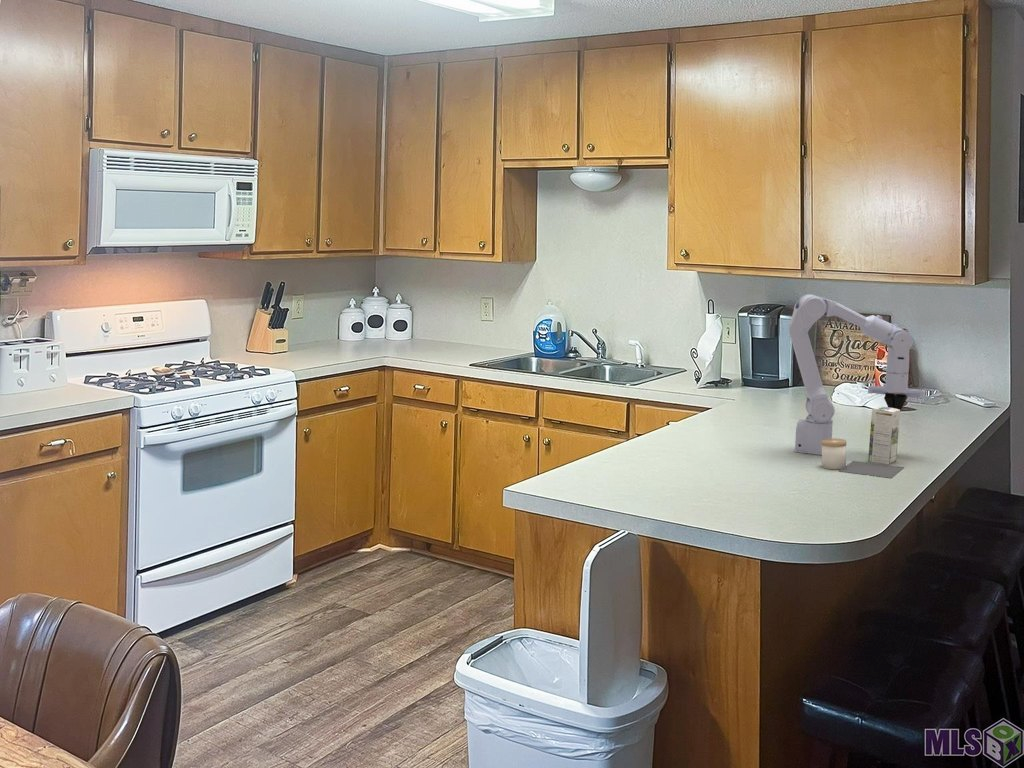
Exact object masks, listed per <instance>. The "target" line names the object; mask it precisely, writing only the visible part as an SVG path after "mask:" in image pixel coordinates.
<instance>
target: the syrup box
mask: <svg viewBox="0 0 1024 768" xmlns="http://www.w3.org/2000/svg"><path fill="white" fill-rule="evenodd" d="M900 417H901V411H900V410H899V409H895V408H890V407H888V406H879V407H876V408H874V409H872V410H871V420H870V433H869V446H868V447H869V448H868V457H867V458H868V459H867V460H868V463H875V464H883V465H891V464H893V463H895V462H896V461H897V455H898V445H899V444H898V440H899V433H900V430H899V429H900V428H899V427H900Z"/></svg>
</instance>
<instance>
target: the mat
mask: <svg viewBox="0 0 1024 768" xmlns="http://www.w3.org/2000/svg"><path fill="white" fill-rule="evenodd" d="M904 469H905V466H898V465H891V464H889V465H888V464H881V463H875V462H867V461H859V460H858V461H857V460H852V461H851V462H850V463H848V464H846V468H844V469H838V472H839V473H847V474H854V475H860V476H861V475H862V476H867V475H869V476H870V477H875V476H876V477H877V478H884V479H893V478H894V477H895V476H896V475H898V474H899V472H901V471H902V470H904Z"/></svg>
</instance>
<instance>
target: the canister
mask: <svg viewBox="0 0 1024 768" xmlns="http://www.w3.org/2000/svg"><path fill="white" fill-rule="evenodd" d="M821 444H822V455H821V468H824V469H827V470H841V469H844V468H846V466H847V439H844V438H835V437H834V438H833V437H832V438H830V439H823V440H821Z"/></svg>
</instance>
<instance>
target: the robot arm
mask: <svg viewBox="0 0 1024 768" xmlns="http://www.w3.org/2000/svg"><path fill="white" fill-rule="evenodd" d="M823 316H824V317H834V316H835V317H837V318H840V319H842V320H844V321H846V322H848V323H851V324H853V325H855V326H857V327H860V329H861V333H862V334H863V335H865V336H867V337H869V338H871V339H873V340H874V341H876V342H878V343H880V344H881V343H882V344H885V345H886V346H887V355H886V369H885V372H886V373H885V385H868V388H867V394H870V395H871V394H878V395H884V396H883V398H884V399H883V400H884V401H885V403H886V407H890V408H895V409H899V410H900V412H901V411H902V408H903V407H904V404H905V403H906V401H907V399H908V397H912V398H921V399H923V398H925V395H926V389H918V388H910V387H909V386H908V385H909V372H910V371H909V369H910V350H911V348H912V347H913V344H914V340H913V336H912V334H911V333H910V332H909V330H906V329H903V328H901V327H899V325H898V324H897V323H890V322H888V321H886V320H885V319H883V316H882V315H879V314H876V315H874V314H872V315H869V316H864V315H862V314H861V313H860V312H859V313H858V312H857V311H854V310H853V309H851V308H849V307H847V306H845V305H843V304H842V303H839V302H837V301H834V300H831V299H828V298H824V297H821V296H818V295H815V294H812V293H806V294H804V295H802V296H801V297H800V298H799V299H798V300H797V302H796V303H795V304H794V306H793V312H792V315H791V318H790V322H789V323H788V324H789V325H788V333H789V337H790V340H791V343H792V347H793V350H794V354H795V358H796V362H797V365H798V368H799V371H800V372H799V373H800V374H801V375H800V376H801V379H802V382H803V386H804V389H805V390H804V391H805V397H806V402H805V409H806V412H807V413H808V414H807V416H806V417H805V419H802V418H801V419H799V420H798V421H797V423H796V428H795V444H794V445H795V446H794V451H793V452H794V453H801V454H802V453H803V454H809V455H810V454H811V455H816V456H822V444H821V440H823V439H830V438H833V424H834V422H833V421H834V419H833V417H834V415H835V407H834V404H833V403H832V402H831V401H830V400H829V398H828V395H827V393H826V391H825V388H824V385H823V381H822V378H821V375H820V372H819V366H818V364H817V361H816V357H815V354H814V350H813V347H812V346H813V345H812V343H811V342H812V341H811V339H810V336H809V331H810V329H811V328H812V326H813V325H814V324H815V322H817V321H818V320H819V319H821V318H822V317H823Z"/></svg>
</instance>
